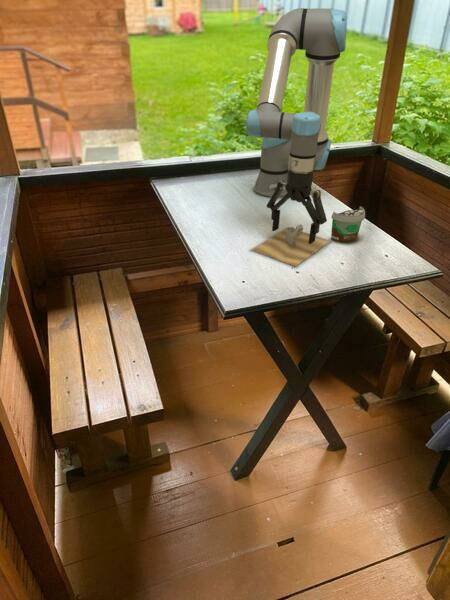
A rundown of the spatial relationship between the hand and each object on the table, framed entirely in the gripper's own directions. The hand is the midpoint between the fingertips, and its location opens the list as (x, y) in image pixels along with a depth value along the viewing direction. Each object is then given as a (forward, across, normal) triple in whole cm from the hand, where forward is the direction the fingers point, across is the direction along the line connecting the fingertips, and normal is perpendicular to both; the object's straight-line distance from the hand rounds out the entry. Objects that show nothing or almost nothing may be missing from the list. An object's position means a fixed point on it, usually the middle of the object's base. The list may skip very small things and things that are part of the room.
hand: (293, 235), depth 142 cm
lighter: (+3, 0, 0) cm, 3 cm away
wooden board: (+4, 0, 0) cm, 4 cm away
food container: (+4, +12, +16) cm, 20 cm away
